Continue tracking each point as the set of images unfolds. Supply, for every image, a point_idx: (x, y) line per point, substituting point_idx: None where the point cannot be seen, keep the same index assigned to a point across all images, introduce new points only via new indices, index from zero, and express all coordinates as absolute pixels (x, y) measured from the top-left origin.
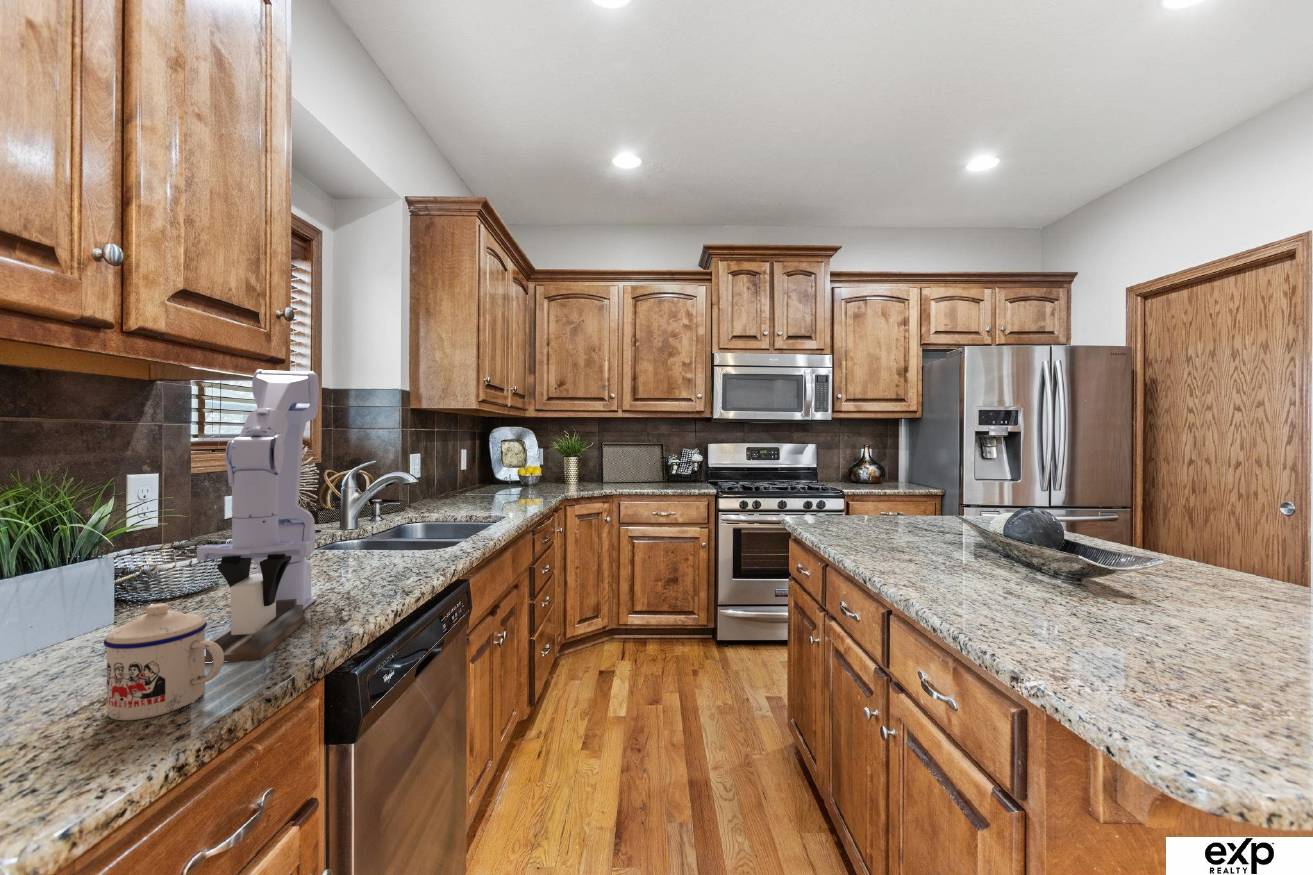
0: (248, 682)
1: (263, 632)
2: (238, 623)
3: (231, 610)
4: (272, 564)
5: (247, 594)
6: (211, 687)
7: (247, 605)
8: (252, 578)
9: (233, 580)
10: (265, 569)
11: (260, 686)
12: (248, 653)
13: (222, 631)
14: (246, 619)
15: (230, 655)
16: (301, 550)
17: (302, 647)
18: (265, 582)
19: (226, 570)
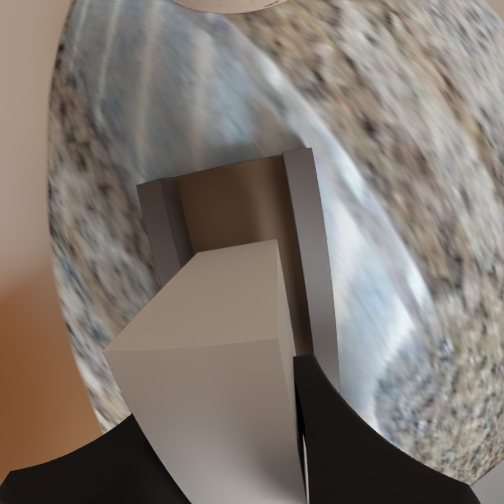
0: (106, 54)
1: (161, 247)
2: (248, 255)
3: (273, 268)
4: (8, 483)
5: (167, 318)
6: (172, 20)
7: (188, 287)
8: (259, 489)
9: (333, 448)
10: (70, 484)
11: (76, 46)
12: (183, 176)
13: (327, 264)
14: (213, 264)
15: (233, 164)
16: None
17: (110, 268)
18: (134, 435)
19: (393, 501)
